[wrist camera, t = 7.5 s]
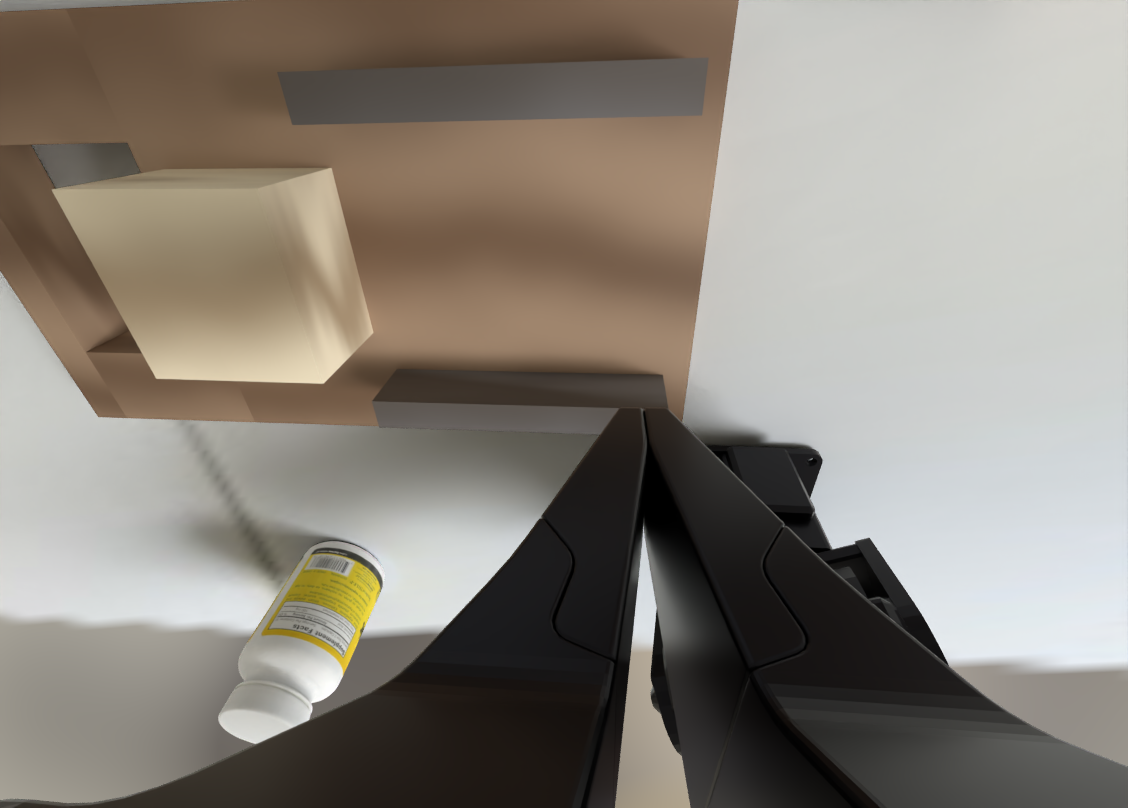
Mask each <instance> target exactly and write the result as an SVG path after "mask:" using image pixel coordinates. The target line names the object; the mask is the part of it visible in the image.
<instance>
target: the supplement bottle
mask: <svg viewBox="0 0 1128 808" xmlns="http://www.w3.org/2000/svg"><path fill="white" fill-rule="evenodd" d="M384 580H385V573H384V570H383V568H382V566H381V564H380V563H379V562H378V560H377V559H376V558H375V557H374V556H372V555H371V554H370V553H368V552H367V551H365V550H363V549H362V548H360V547H357V546H355V545H352V544H349V543H344V542H338V541H328V542H322V543H319V544H316V545H314V546H313V547H311V548H310V549H309V550H308V551H307V552H306V553H305V554H304V556H303V557H302V558H301V560H300V562H299V563H298V565H297V566H296V568H295V569H294V571H293V572H292V574H291V575H290V577H289V578H288V580H287V582H286V583H285V585H284V586H283V588H282V589H281V591H280V593H279V594H278V596H277V597H276V599H275V600H274V602H273V603H272V605H271V607H270V608H269V610H268V611H267V613H266V614H265V616H264V617H263V619H262V620H261V622H260V624H259V625H258V627H257V628H256V630H255V631H254V633H253V634H252V636H251V637H250V639H249V641H248V642H247V644H246V645H245V647H244V649H243V651H242V652H241V655H240V657H239V661H238V668H239V672H240V675H241V677H242V678H243V680H244V681H245V682H242V683H240V684H239V685H237V686H236V688H235V690H234V691H233V693H232V694H231V695H230V697H229V699H228V700H227V702H226V704H225V705H224V707H223V709H222V710H221V712H220V714H219V717H218V719H219V723H220V725H221V726H222V727H223V728H224V729H225V730H227V731H228V732H229V733H231V734H232V735H234V736H236V737H238V738H240V739H242V740H245V741H248V742H251V743H255V744H257V743H259V742H262V741H264V740H266V739H268V738H270V737H273V736H275V735H277V734H279V733H281V732H284V731H286V730H288V729H290V728H292V727H295V726H297V725H299V724H301V723H303V722H306V721H308V720H309V718H310V714H311V712H312V709H313V708H312V705H311V703H314V702H318V701H320V700H323V699H325V698H326V697H328V696H329V695H330V694H332V693H333V692H334V691H335V689H336V688H337V686H338V684H339V683H340V681H341V679H342V677H343V675H344V672H345V670H346V668H347V666H348V663H349V661H350V659H351V656H352V654H353V652H354V650H355V648H356V645H357V643H358V641H359V638H360V636H361V634H362V632H363V630H364V627H365V625H366V623H367V621H368V618H369V616H370V614H371V612H372V610H373V607H374V605H375V603H376V601H377V599H378V596H379V594H380V592H381V589H382V587H383V584H384Z"/></svg>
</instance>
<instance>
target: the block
mask: <svg viewBox="0 0 1128 808" xmlns="http://www.w3.org/2000/svg"><path fill="white" fill-rule="evenodd" d="M51 190H52V192H53V194H54V195H55V197H56V199H57V201H58V203H59V204H60V206H61V208H62V210H63V212H64V213H65V215H66V217H67V219H68V221H69V222H70V224H71V226H72V228H73V230H74V231H75V233H76V235H77V237H78V239H79V240H80V242H81V244H82V246H83V248H84V249H85V251H86V253H87V255H88V257H89V258H90V260H91V262H92V264H93V266H94V268H95V269H96V271H97V273H98V275H99V277H100V278H101V280H102V282H103V284H104V286H105V287H106V289H107V291H108V293H109V295H110V296H111V298H112V300H113V302H114V304H115V305H116V307H117V309H118V311H119V313H120V314H121V316H122V318H123V320H124V322H125V323H126V325H127V327H128V329H129V331H130V332H131V334H132V336H133V338H134V340H135V341H136V343H137V345H138V347H139V349H140V350H141V352H142V354H143V356H144V358H145V359H146V361H147V363H148V365H149V367H150V368H151V370H152V372H153V374H154V376H155V377H156V379H182V380H215V381H249V382H282V383H315V384H324V383H325V382H326V381H327V380H328V379H329V378H330V377H331V376H332V375H333V374H334V373H335V372H336V370H337V369H338V368H339V367H340V366H341V365H342V364H343V363H344V362H345V361H346V360H347V359H348V358H349V357H350V356H351V355H352V354H353V353H354V352H355V351H356V350H357V349H358V348H359V347H360V346H361V345H362V344H363V343H364V342H365V341H366V340H367V339H368V338H369V337H370V336H371V335H372V334H373V329H372V325H371V321H370V317H369V313H368V309H367V305H366V301H365V298H364V294H363V290H362V286H361V282H360V278H359V274H358V270H357V266H356V262H355V258H354V254H353V250H352V247H351V243H350V239H349V235H348V231H347V227H346V223H345V219H344V215H343V211H342V207H341V203H340V200H339V196H338V192H337V188H336V184H335V180H334V176H333V172H332V168H235V169H162V170H157V171H151V172H146V173H140V174H134V175H129V176H123V177H118V178H112V179H107V180H101V181H96V182H90V183H85V184H79V185H73V186H68V187H62V188H57V189H51Z"/></svg>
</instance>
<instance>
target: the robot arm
mask: <svg viewBox="0 0 1128 808" xmlns="http://www.w3.org/2000/svg"><path fill="white" fill-rule="evenodd" d="M811 458H813V459H812V460H811V461H807V460H808V459H811ZM821 465H822V458H821V456H820V454H819V452H818V451H816V450H814V449H794V448H770V447H740V446H706V445H704V444H703V443H702V442H701V441H700V440H699V439H698V438H697V437H696V436H695V435H694V434H693V433H692V432H691V431H690V430H689V429H688V428H687V427H686V426H685V425H684V424H683V423H682V422H681V421H680V420H679V419H678V418H677V417H676V416H675V415H674V414H673V413H672V412H671V411H670V410H669V409H667V408H645V409H644V411H643V409H642V408H639V407H621V408H619V409H618V410H617V412H616V413H615V414H614V416H613V417H612V419H611V420H610V421H609V423H608V424H607V426H606V427H605V428H604V430H603V431H602V433H601V434H600V435H599V437H598V438H597V439H596V441H595V442H594V444H593V445H592V446H591V448H590V449H589V451H588V452H587V453H586V455H585V456H584V458H583V459H582V460H581V462H580V463H579V464H578V466H577V467H576V469H575V470H574V471H573V473H572V474H571V476H570V477H569V478H568V480H567V481H566V483H565V484H564V485H563V487H562V488H561V489H560V491H559V492H558V494H557V495H556V496H555V498H554V499H553V501H552V502H551V503H550V505H549V506H548V508H547V509H546V510H545V512H544V513H543V514H542V516H541V518H540V519H539V520H538V521H537V522H536V524H535V525H534V527H533V528H532V529H531V531H530V532H529V534H528V535H527V536H526V538H525V539H524V540H523V541H522V543H521V544H520V545H519V547H518V548H517V549H516V550H515V552H514V553H513V554H512V556H511V557H510V558H509V559H508V560H507V562H506V563H505V564H504V565H503V566H502V567H501V568H500V569H499V570H498V572H497V573H496V574H495V575H494V576H493V577H492V578H491V579H490V580H489V582H488V583H487V584H486V585H485V586H484V587H483V588H482V589H481V590H480V591H479V592H478V593H477V594H476V595H475V597H474V598H473V599H472V600H471V601H470V602H469V603H468V604H467V605H466V606H465V607H464V608H463V609H462V610H461V611H460V612H459V613H458V615H457V616H456V617H455V618H454V619H453V620H452V621H451V622H450V623H449V624H448V625H447V626H446V627H445V628H444V629H443V630H442V631H441V632H440V634H439V635H438V636H437V637H436V638H435V639H434V640H433V641H432V642H431V643H430V644H429V645H428V646H427V647H426V649H424V650H423V651H422V652H421V653H420V655H419V656H417V658H416V659H415V660H413V661H412V662H411V663H410V664H409V665H408V666H407V667H406V668H404V669H403V670H402V671H401V672H400V673H398V674H397V675H396V676H394V677H393V678H392V679H390V680H389V681H388V682H386V683H385V684H383V685H381V686H380V687H378V688H377V689H375V690H373V691H371V692H369V693H367V694H365V695H363V696H361V697H359V698H356V699H354V700H352V701H350V702H348V703H345V704H343V705H341V706H339V707H337V708H334V709H332V710H330V711H328V712H326V713H323V714H321V715H319V716H317V717H315V718H312V719H310V720H308V721H306V722H303V723H301V724H299V725H297V726H295V727H292V728H290V729H288V730H286V731H284V732H281V733H279V734H277V735H275V736H273V737H270V738H268V739H266V740H264V741H262V742H259V743H257V744H255V745H253V746H251V747H248V748H246V749H244V750H242V751H240V752H238V753H235V754H233V755H231V756H229V757H226V758H224V759H222V760H220V761H218V762H215V763H213V764H211V765H209V766H207V767H204V768H202V769H200V770H198V771H195V772H194V773H191V774H188V775H186V776H183V777H181V778H178V779H176V780H174V781H171V782H169V783H166V784H164V785H161V786H159V787H155V788H152V789H148V790H145V791H142V792H139V793H135V794H132V795H129V796H125V797H120V798H115V799H109V800H104V801H99V802H94V803H59V802H49V801H39V800H25V799H6V800H0V808H615V801H616V791H617V781H618V771H619V761H620V751H621V743H622V733H623V723H624V713H625V703H626V694H627V684H628V674H629V664H630V655H631V645H632V636H633V626H634V616H635V606H636V597H637V587H638V577H639V567H640V558H641V548H642V536H643V522H644V534H645V541H646V547H647V553H648V559H649V565H650V571H651V577H652V583H653V588H654V594H655V600H656V606H657V612H656V622H655V633H654V644H653V655H652V665H651V681H652V685H653V687H652V690H651V700H652V704H653V706H654V708H655V709H656V710H657V711H658V712H660V714H661V715H662V719H663V722H664V725H665V728H666V730H667V733H668V736H669V737H670V740H671V742H672V744H673V746H674V748H675V749H676V751H677V752H678V753H679V754H680V755H681V756H682V759H683V765H684V771H685V777H686V783H687V789H688V794H689V800H690V806H691V808H1128V766H1125V765H1123V764H1120V763H1118V762H1115V761H1113V760H1110V759H1107V758H1105V757H1102V756H1100V755H1097V754H1095V753H1092V752H1090V751H1087V750H1085V749H1082V748H1080V747H1077V746H1075V745H1072V744H1070V743H1068V742H1065V741H1063V740H1061V739H1058V738H1055V737H1054V736H1052V735H1050V734H1048V733H1046V732H1044V731H1042V730H1040V729H1038V728H1036V727H1034V726H1032V725H1030V724H1028V723H1026V722H1025V721H1023V720H1022V719H1020V718H1018V717H1017V716H1015V715H1013V714H1012V713H1010V712H1008V711H1007V710H1005V709H1004V708H1003V707H1001V706H1000V705H998V704H997V703H995V702H994V701H992V700H991V699H989V698H988V697H987V696H985V695H984V694H983V693H982V692H980V691H979V690H978V689H976V688H975V687H974V686H972V685H971V684H970V683H969V682H967V681H966V680H965V679H964V678H962V677H961V676H960V675H959V674H958V673H956V672H955V671H954V670H953V669H952V668H950V667H949V665H948V663H947V661H946V659H945V657H944V655H943V653H942V651H941V649H940V647H939V645H938V643H937V641H936V639H935V637H934V635H933V634H932V632H931V630H930V628H929V626H928V625H927V623H926V621H925V619H924V618H923V616H922V614H921V613H920V611H919V610H918V608H917V607H916V605H915V603H914V602H913V601H912V599H911V598H910V596H909V595H908V593H907V592H906V590H905V589H904V587H903V586H902V585H901V583H900V582H899V580H898V579H897V577H896V576H895V574H894V573H893V571H892V570H891V568H890V567H889V566H888V564H887V563H886V561H885V560H884V558H883V557H882V555H881V554H880V552H879V551H878V550H877V548H876V547H875V545H874V544H873V542H872V541H871V539H870V538H867V539H862V540H858V541H855V544H852V545H848V546H844V547H840V548H836V549H832V547H831V545H830V543H829V541H828V539H827V537H826V535H825V533H824V530H823V528H822V526H821V524H820V522H819V520H818V518H817V516H816V513H815V508H814V506H813V504H812V502H811V500H810V497H811V494H812V491H813V488H814V485H815V482H816V479H817V476H818V474H819V471H820V468H821Z"/></svg>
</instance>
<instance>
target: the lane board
mask: <svg viewBox="0 0 1128 808" xmlns="http://www.w3.org/2000/svg"><path fill="white" fill-rule="evenodd" d="M738 1H739V0H239V1H218V2H197V3H176V4H155V5H134V6H113V7H92V8H71V9H50V10H29V11H7V12H0V271H1V273H2V274H3V275H4V277H5V278H6V280H7V281H8V283H9V284H10V286H11V287H12V289H13V290H14V292H15V293H16V295H17V296H18V298H19V299H20V301H21V302H22V304H23V305H24V307H25V308H26V310H27V311H28V313H29V314H30V316H31V317H32V319H33V320H34V322H35V323H36V325H37V326H38V328H39V329H40V331H41V332H42V334H43V335H44V337H45V338H46V340H47V341H48V343H49V344H50V346H51V347H52V349H53V350H54V352H55V353H56V355H57V356H58V358H59V359H60V361H61V362H62V363H63V365H64V366H65V368H66V369H67V371H68V372H69V374H70V375H71V377H72V378H73V380H74V381H75V383H76V384H77V386H78V387H79V389H80V390H81V392H82V393H83V395H84V396H85V398H86V399H87V401H88V402H89V404H90V405H91V407H92V408H93V410H94V411H95V413H96V414H97V416H98V417H112V418H143V419H174V420H205V421H236V422H267V423H298V424H329V425H360V426H379V427H387V428H417V429H448V430H479V431H510V432H541V433H571V434H601V433H602V431H603V430H604V428H605V427H606V426H607V424H608V423H609V421H610V420H611V419H612V417H613V416H614V414H615V413H616V412H617V410H618V409H619V408H621V407H639V408H642V409H643V411H644V409H645V408H667V409H669V410H670V411H671V412H672V413H673V414H674V415H675V416H676V417H677V418H678V419H679V420H680V421H681V422H682V419H683V411H684V404H685V396H686V389H687V382H688V374H689V367H690V359H691V352H692V344H693V337H694V329H695V322H696V314H697V307H698V300H699V292H700V285H701V277H702V270H703V262H704V255H705V247H706V240H707V232H708V225H709V217H710V210H711V203H712V195H713V188H714V180H715V173H716V165H717V158H718V150H719V143H720V135H721V128H722V121H723V113H724V106H725V98H726V91H727V83H728V76H729V68H730V61H731V53H732V46H733V39H734V31H735V24H736V16H737V9H738ZM83 143H128V146H129V148H130V150H131V152H132V154H133V157H134V159H135V161H136V163H137V165H138V167H139V170H140V172H141V173H146V172H151V171H157V170H162V169H235V168H332V172H333V176H334V180H335V184H336V188H337V192H338V196H339V200H340V203H341V207H342V211H343V215H344V219H345V223H346V227H347V231H348V235H349V239H350V243H351V247H352V250H353V254H354V258H355V262H356V266H357V270H358V274H359V278H360V282H361V286H362V290H363V294H364V298H365V301H366V305H367V309H368V313H369V317H370V321H371V325H372V329H373V334H372V335H371V336H370V337H369V338H368V339H367V340H366V341H365V342H364V343H363V344H362V345H361V346H360V347H359V348H358V349H357V350H356V351H355V352H354V353H353V354H352V355H351V356H350V357H349V358H348V359H347V360H346V361H345V362H344V363H343V364H342V365H341V366H340V367H339V368H338V369H337V370H336V372H335V373H334V374H333V375H332V376H331V377H330V378H329V379H328V380H327V381H326V382H325V383H324V384H315V383H282V382H249V381H215V380H182V379H156V377H155V376H154V374H153V372H152V370H151V368H150V367H149V365H148V363H147V361H146V359H145V358H144V356H143V354H142V352H141V350H140V349H139V347H138V345H137V343H136V341H135V340H134V338H133V336H132V334H131V332H130V331H129V329H128V327H127V325H126V323H125V322H124V320H123V318H122V316H121V314H120V313H119V311H118V309H117V307H116V305H115V304H114V302H113V300H112V298H111V296H110V295H109V293H108V291H107V289H106V287H105V286H104V284H103V282H102V280H101V278H100V277H99V275H98V273H97V271H96V269H95V268H94V266H93V264H92V262H91V260H90V258H89V257H88V255H87V253H86V251H85V249H84V248H83V246H82V244H81V242H80V240H79V239H78V237H77V235H76V233H75V231H74V230H73V228H72V226H71V224H70V222H69V221H68V219H67V217H66V215H65V213H64V212H63V210H62V208H61V206H60V204H59V203H58V201H57V199H56V197H55V195H54V194H53V192H52V190H51V189H55V187H54V185H53V184H52V182H51V180H50V178H49V176H48V175H47V173H46V171H45V169H44V167H43V166H42V164H41V162H40V160H39V158H38V157H37V155H36V153H35V151H34V149H33V148H32V146H31V145H35V144H83Z"/></svg>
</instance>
